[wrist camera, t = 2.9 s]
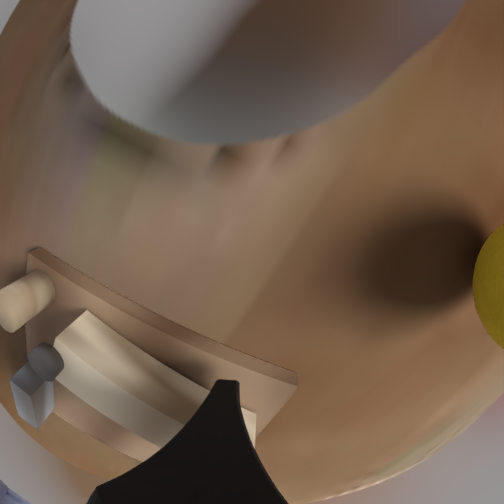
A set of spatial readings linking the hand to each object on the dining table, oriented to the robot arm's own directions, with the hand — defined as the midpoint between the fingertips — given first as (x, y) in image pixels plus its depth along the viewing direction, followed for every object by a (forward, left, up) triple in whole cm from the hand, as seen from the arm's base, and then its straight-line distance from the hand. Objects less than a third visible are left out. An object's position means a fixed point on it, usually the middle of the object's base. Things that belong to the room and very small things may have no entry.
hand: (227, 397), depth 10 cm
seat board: (-4, -5, -2) cm, 7 cm away
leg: (-3, -2, -1) cm, 4 cm away
